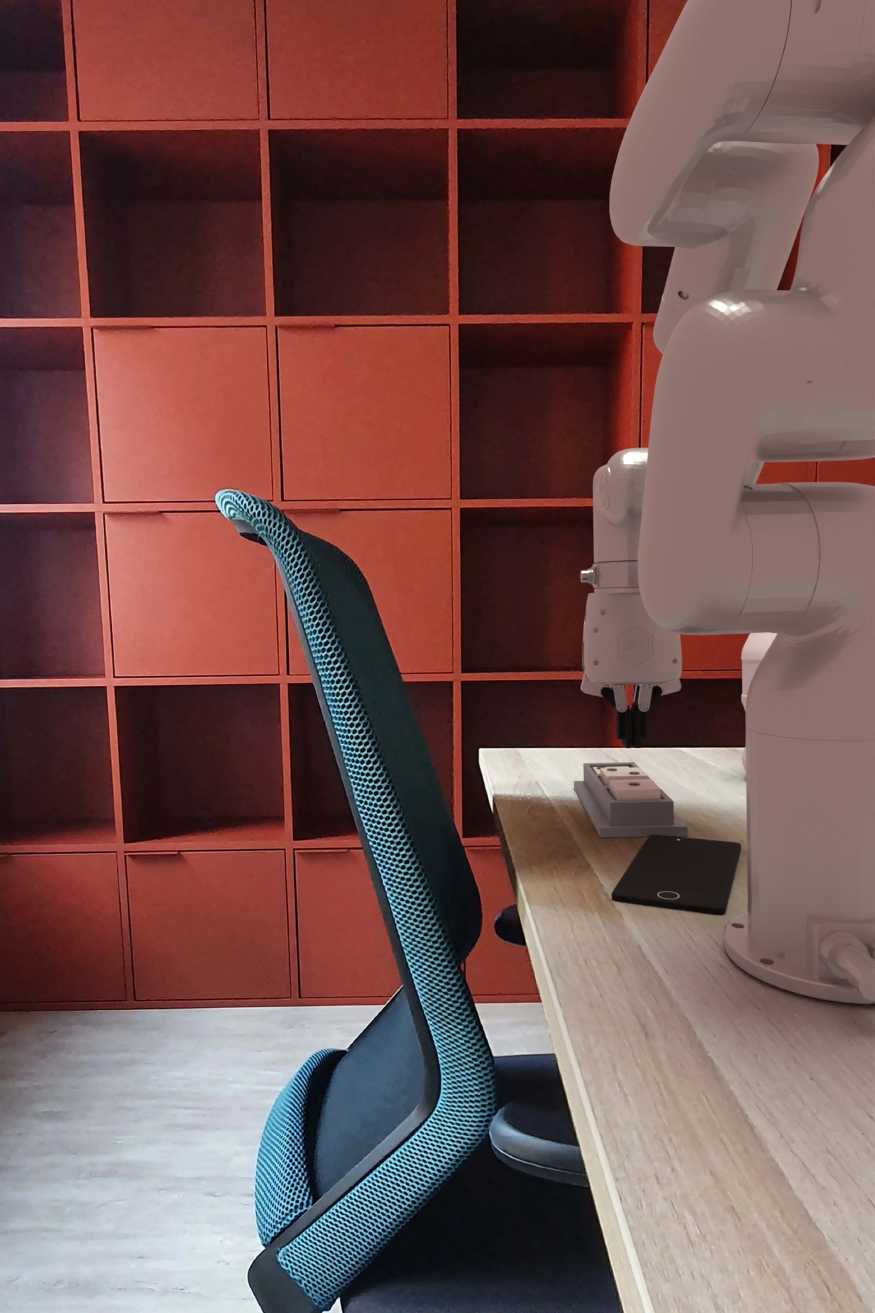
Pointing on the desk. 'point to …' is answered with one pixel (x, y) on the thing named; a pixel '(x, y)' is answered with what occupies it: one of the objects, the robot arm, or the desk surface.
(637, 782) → the tile one
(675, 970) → the desk surface
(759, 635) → the water bottle
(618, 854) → the desk surface
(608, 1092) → the desk surface
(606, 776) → the tile two
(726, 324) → the robot arm
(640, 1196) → the desk surface
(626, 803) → the tile tray
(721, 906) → the cell phone
